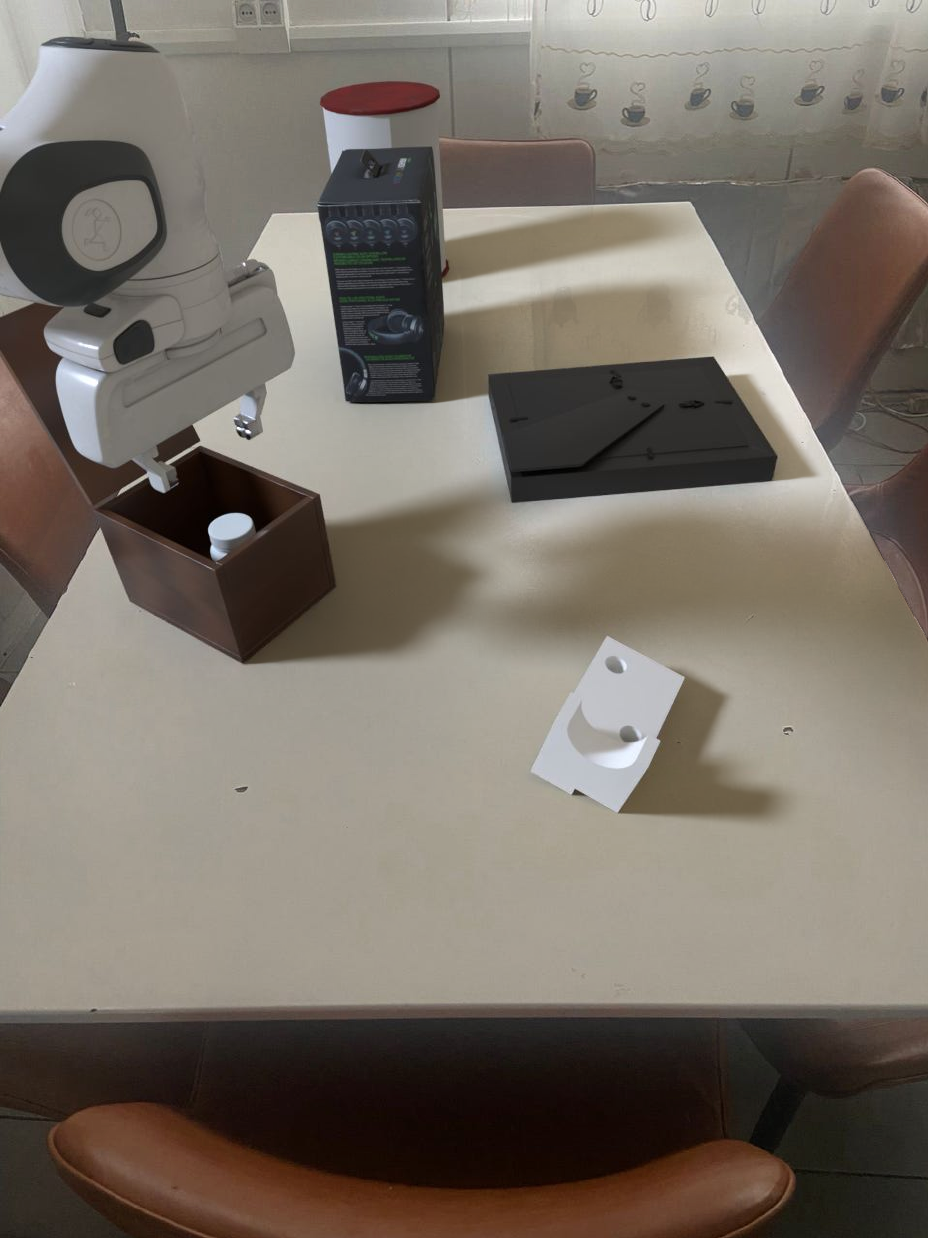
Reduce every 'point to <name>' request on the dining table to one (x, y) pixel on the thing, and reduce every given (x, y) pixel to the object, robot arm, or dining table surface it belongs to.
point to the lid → (36, 378)
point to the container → (385, 125)
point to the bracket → (609, 726)
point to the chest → (241, 580)
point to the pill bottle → (229, 533)
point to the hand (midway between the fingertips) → (210, 460)
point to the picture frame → (625, 429)
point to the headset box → (385, 272)
